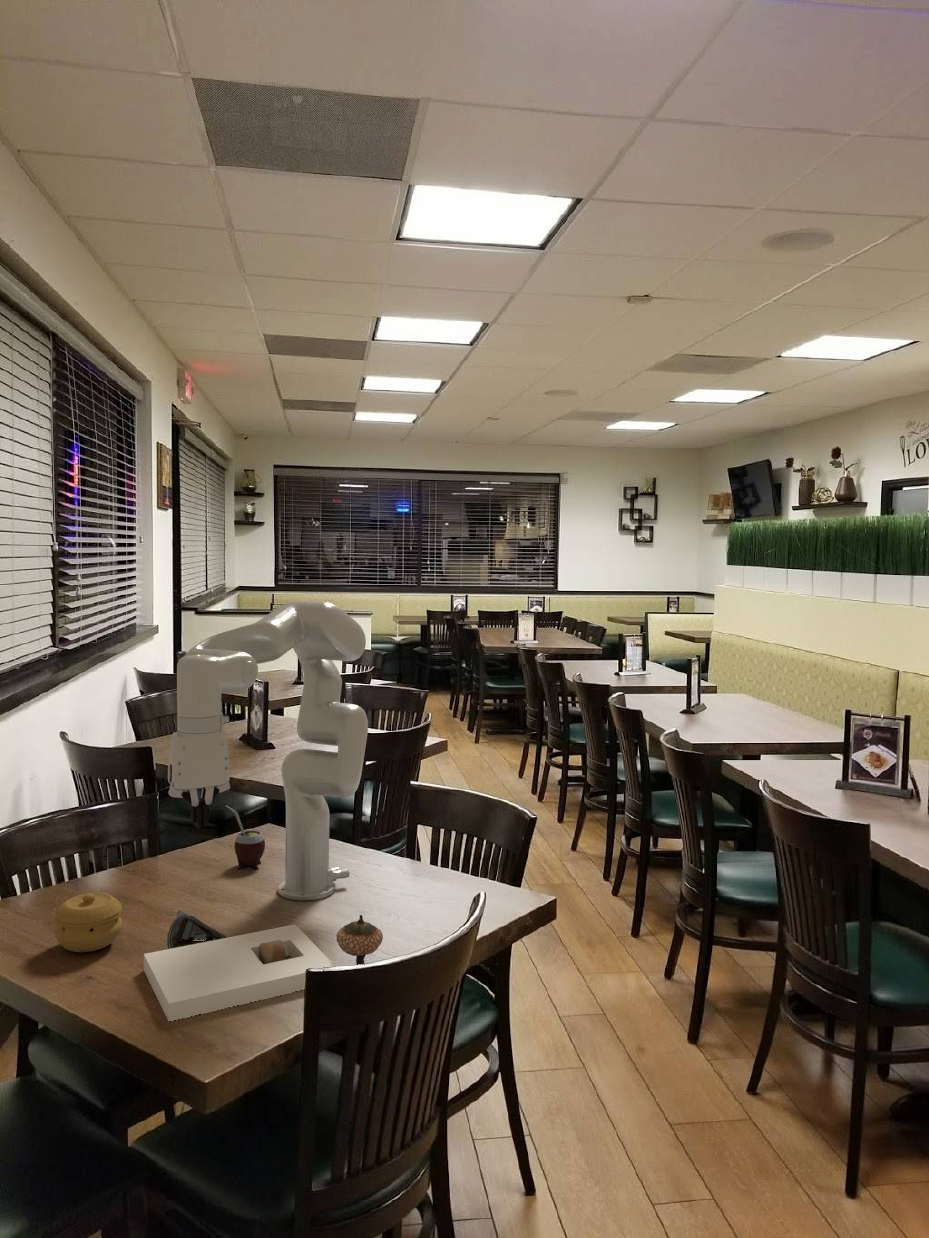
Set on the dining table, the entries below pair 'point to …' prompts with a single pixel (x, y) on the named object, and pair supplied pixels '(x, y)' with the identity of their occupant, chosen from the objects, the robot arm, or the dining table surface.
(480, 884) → the dining table surface
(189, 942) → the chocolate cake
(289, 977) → the plate
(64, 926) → the pot
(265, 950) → the brown wooden cylinder
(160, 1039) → the dining table surface
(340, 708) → the robot arm
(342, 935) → the acorn
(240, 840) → the mate gourd
